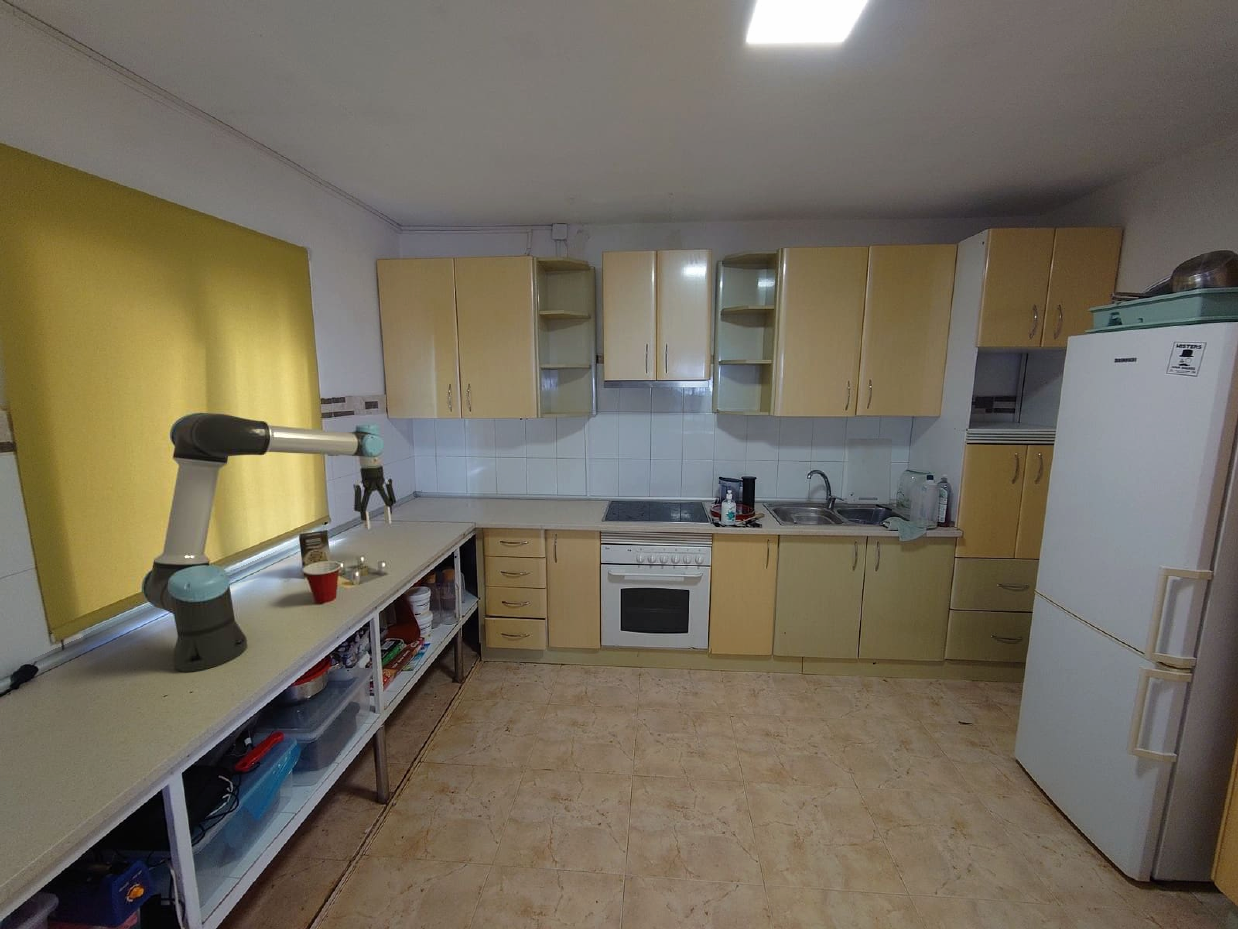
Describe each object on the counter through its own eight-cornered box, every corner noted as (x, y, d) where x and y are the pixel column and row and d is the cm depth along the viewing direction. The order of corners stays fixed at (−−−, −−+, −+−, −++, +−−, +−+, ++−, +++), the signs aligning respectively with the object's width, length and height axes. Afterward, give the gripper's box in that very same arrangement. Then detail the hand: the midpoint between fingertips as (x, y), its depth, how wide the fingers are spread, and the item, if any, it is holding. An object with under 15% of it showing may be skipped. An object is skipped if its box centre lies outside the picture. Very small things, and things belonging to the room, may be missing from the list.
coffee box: (303, 580, 178) (297, 538, 176) (304, 574, 184) (298, 533, 181) (332, 575, 183) (327, 533, 180) (332, 569, 188) (327, 529, 186)
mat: (347, 590, 169) (347, 588, 169) (324, 579, 179) (323, 578, 179) (388, 575, 181) (388, 574, 181) (364, 566, 191) (364, 565, 191)
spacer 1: (339, 577, 181) (337, 564, 180) (335, 575, 182) (334, 562, 181) (347, 574, 183) (345, 562, 182) (343, 573, 184) (341, 560, 184)
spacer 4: (381, 577, 180) (380, 564, 179) (377, 575, 181) (376, 562, 180) (388, 574, 182) (387, 561, 181) (384, 573, 184) (383, 560, 183)
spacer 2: (355, 587, 171) (353, 573, 171) (350, 585, 173) (349, 572, 172) (362, 584, 174) (361, 571, 173) (358, 582, 175) (357, 569, 174)
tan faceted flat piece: (359, 577, 179) (358, 571, 178) (353, 575, 181) (352, 568, 181) (373, 573, 183) (372, 566, 182) (366, 570, 185) (366, 564, 185)
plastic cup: (335, 607, 157) (331, 571, 154) (300, 609, 156) (295, 573, 154) (351, 592, 167) (347, 559, 165) (318, 594, 166) (313, 560, 164)
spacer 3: (360, 570, 186) (359, 558, 185) (356, 569, 188) (355, 556, 187) (367, 568, 189) (366, 556, 188) (363, 567, 190) (362, 554, 189)
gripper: (348, 471, 171) (356, 534, 175) (402, 462, 187) (408, 520, 191) (337, 469, 175) (345, 531, 179) (391, 461, 192) (397, 517, 196)
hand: (378, 525), depth 185 cm, fingers open, 8 cm apart
